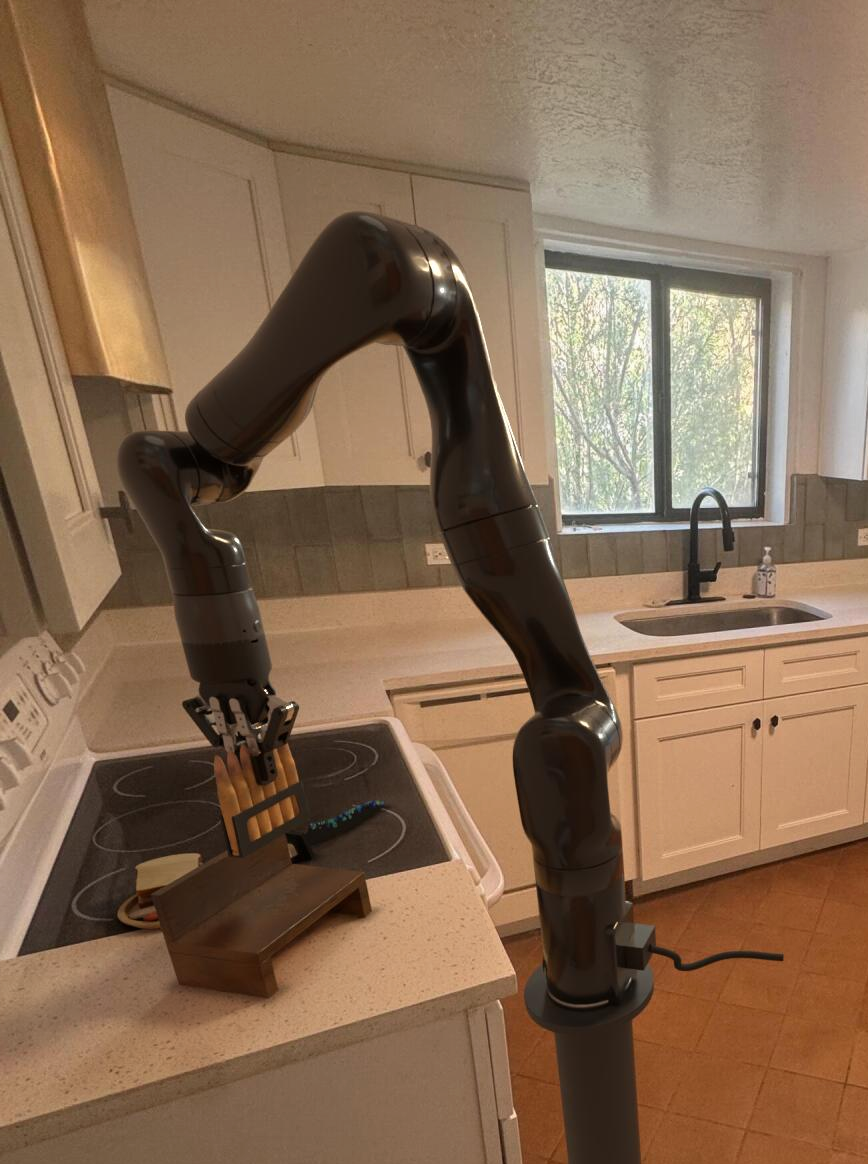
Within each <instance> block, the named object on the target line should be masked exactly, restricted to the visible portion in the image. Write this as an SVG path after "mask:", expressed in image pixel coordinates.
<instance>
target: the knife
mask: <svg viewBox="0 0 868 1164" xmlns="http://www.w3.org/2000/svg"><path fill="white" fill-rule="evenodd" d="M386 804H387V802H386V801H385V800H381V799H380V800H379V799H375V800H369V801H366V802H363V803H360V804H358V805H356V806H354V807H352V808H351V809H348V810H347V811H345V812H343V813H341V814H339V815H336V816H335V817H332V818H330V819H326V820H324V821H318V822H309V823H308V829H307V831H306V833H304V832H301V831H294V830H290V831H289V832H287V833H285V836H286V840H287V844H288V849H289V853H290V857H291V859H292V858H294V857H296V858H302V859H309V860H312V858H314V856H315V854H314V852H313V849H312V847H314V846H317V845H319V844H321V843H323V842H327V841H328V840H330V839H332V838H334V837H337V836H339V835H340V834H342V833H344V832H346V831H348V830H350V829H352V828H354V827H357V825H359V824H361V823H363V822H364V821H366V820H368V819H370V818H371V817H372V816H374V815H376V814H377V813H378V812H379V811H381V810H382V809H383V808H384V807H385V806H386Z"/></svg>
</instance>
